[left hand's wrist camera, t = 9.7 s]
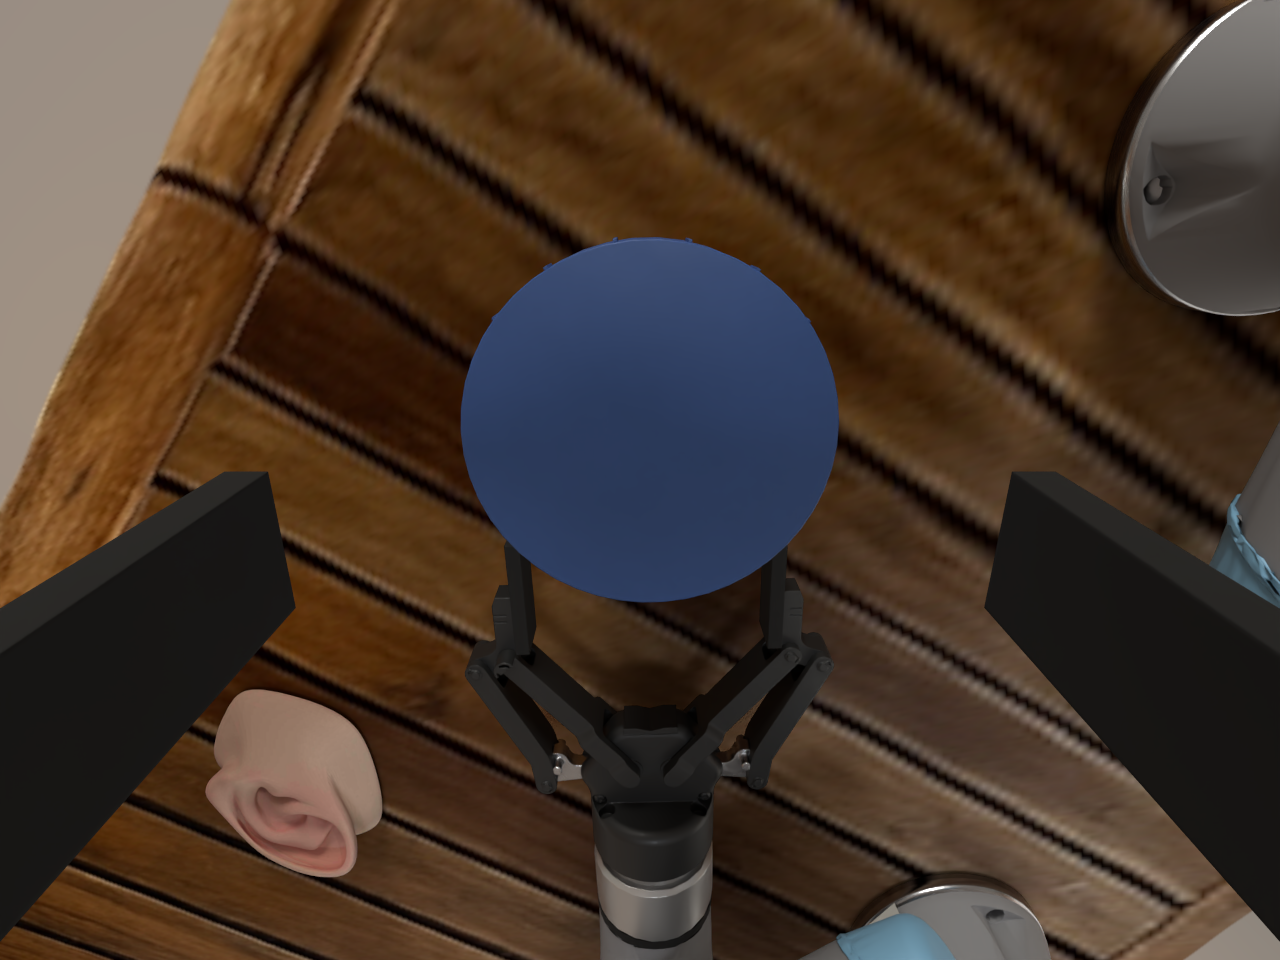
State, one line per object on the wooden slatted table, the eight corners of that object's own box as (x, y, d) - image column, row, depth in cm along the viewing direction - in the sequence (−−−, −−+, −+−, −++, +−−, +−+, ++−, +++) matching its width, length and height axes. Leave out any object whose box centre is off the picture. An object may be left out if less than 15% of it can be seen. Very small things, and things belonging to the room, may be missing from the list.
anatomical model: (167, 725, 43) (353, 736, 43) (204, 684, 47) (375, 695, 47) (198, 879, 48) (366, 888, 48) (229, 831, 51) (385, 840, 52)
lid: (587, 153, 19) (583, 147, 18) (899, 366, 21) (921, 379, 20) (412, 472, 23) (394, 492, 21) (697, 629, 25) (702, 658, 23)
